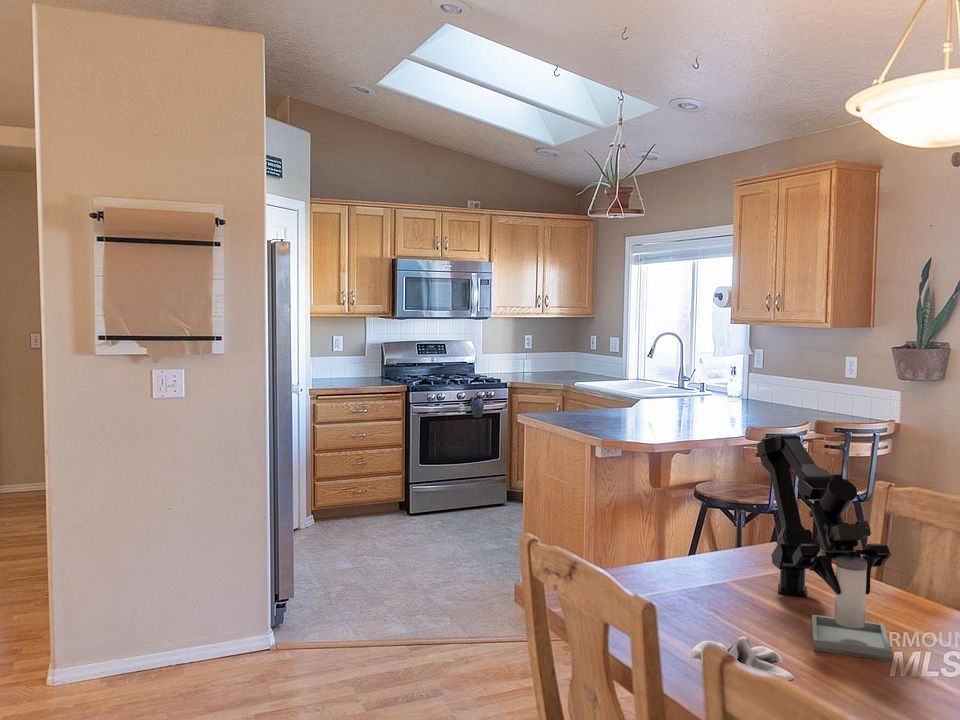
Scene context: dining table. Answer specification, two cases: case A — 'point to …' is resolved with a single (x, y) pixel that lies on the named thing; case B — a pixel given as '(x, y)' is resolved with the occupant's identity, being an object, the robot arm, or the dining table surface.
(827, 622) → the tray
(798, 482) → the robot arm
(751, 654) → the cloth
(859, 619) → the shaker
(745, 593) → the dining table surface
